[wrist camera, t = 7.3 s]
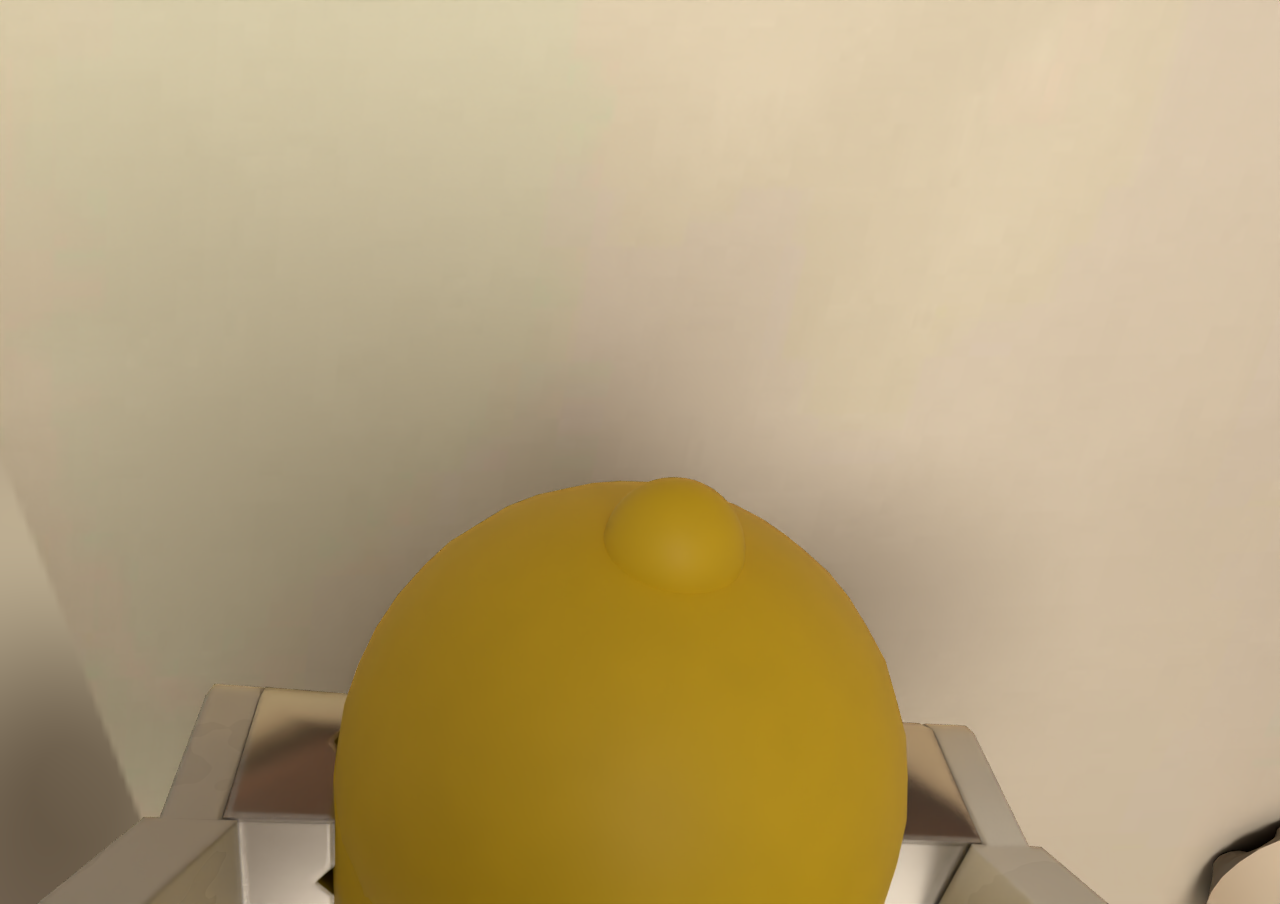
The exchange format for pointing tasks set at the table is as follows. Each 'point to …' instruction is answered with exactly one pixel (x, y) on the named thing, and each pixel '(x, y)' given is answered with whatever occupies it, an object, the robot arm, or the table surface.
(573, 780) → the lemon
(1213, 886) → the cup
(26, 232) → the table surface
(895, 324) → the table surface
